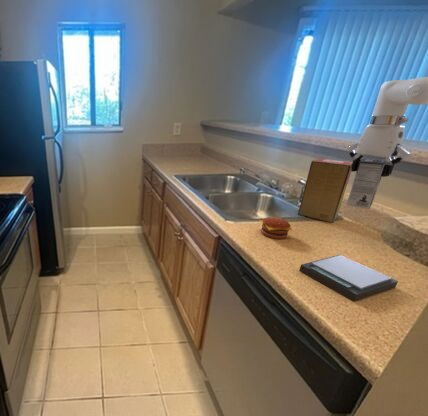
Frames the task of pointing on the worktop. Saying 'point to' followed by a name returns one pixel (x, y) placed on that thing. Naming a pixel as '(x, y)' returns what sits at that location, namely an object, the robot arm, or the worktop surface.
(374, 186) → the coffee box
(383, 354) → the worktop surface
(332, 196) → the food packaging
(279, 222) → the hamburger
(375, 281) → the scale
